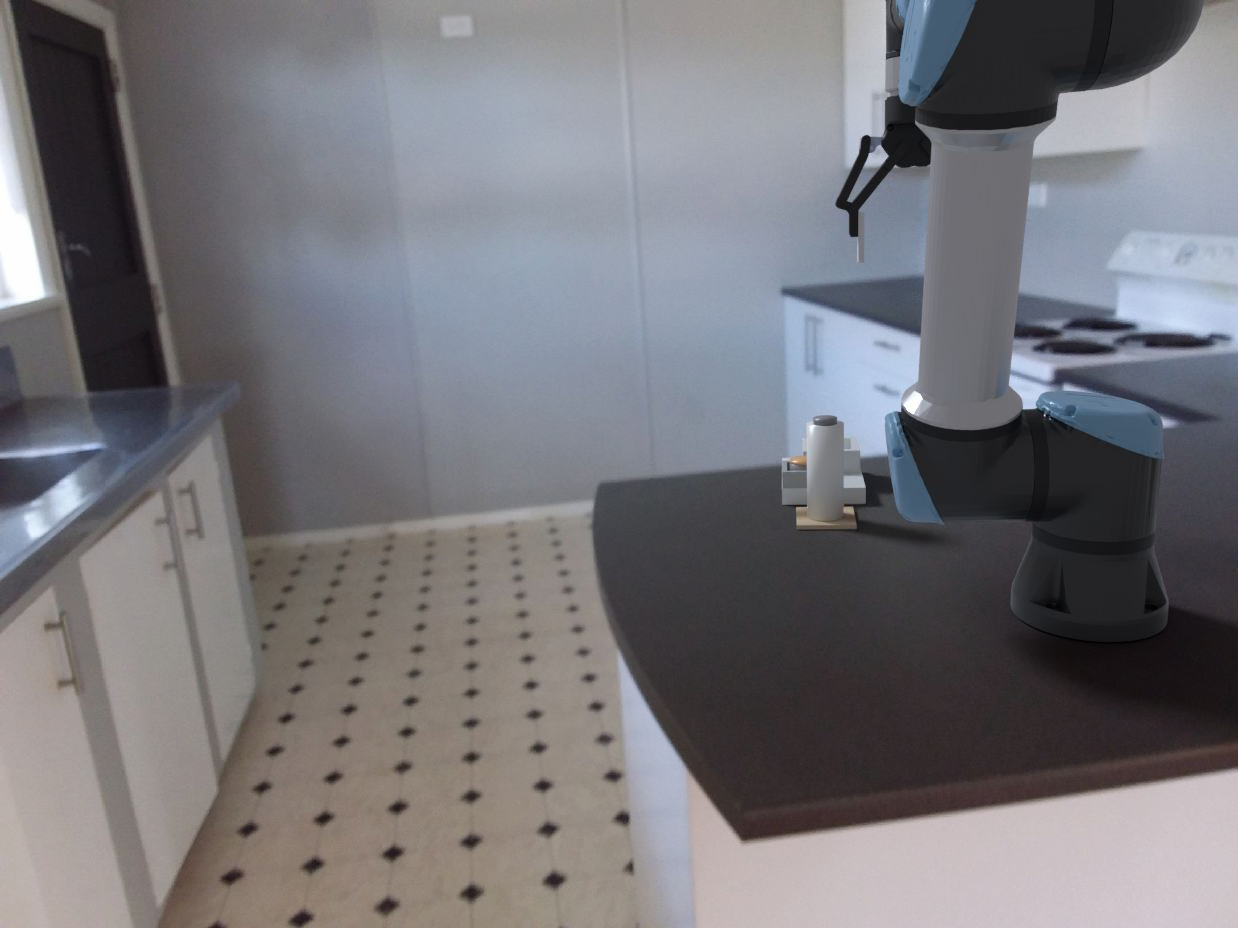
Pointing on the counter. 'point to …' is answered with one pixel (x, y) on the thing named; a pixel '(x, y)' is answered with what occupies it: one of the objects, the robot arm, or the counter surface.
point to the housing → (853, 478)
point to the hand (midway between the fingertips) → (912, 259)
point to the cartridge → (825, 468)
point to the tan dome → (798, 463)
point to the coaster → (808, 523)
